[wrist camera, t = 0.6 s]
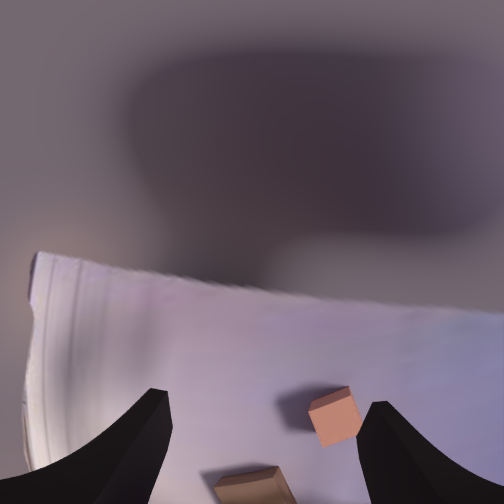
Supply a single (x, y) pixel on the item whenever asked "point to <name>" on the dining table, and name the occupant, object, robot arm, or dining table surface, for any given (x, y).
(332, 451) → the dining table surface
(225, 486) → the walnut block
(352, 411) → the terracotta cube
